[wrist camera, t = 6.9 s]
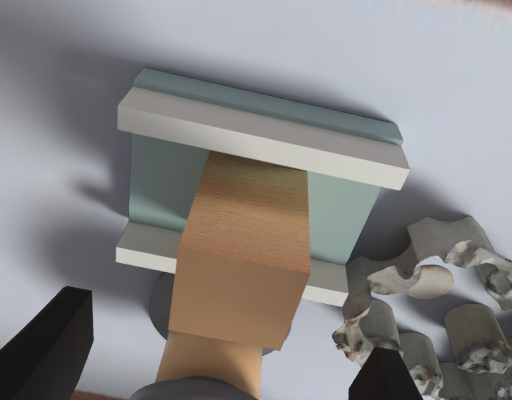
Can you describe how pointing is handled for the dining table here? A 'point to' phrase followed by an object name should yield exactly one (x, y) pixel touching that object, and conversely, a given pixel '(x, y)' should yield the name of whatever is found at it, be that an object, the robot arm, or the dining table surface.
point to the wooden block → (243, 252)
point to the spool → (199, 360)
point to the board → (258, 148)
